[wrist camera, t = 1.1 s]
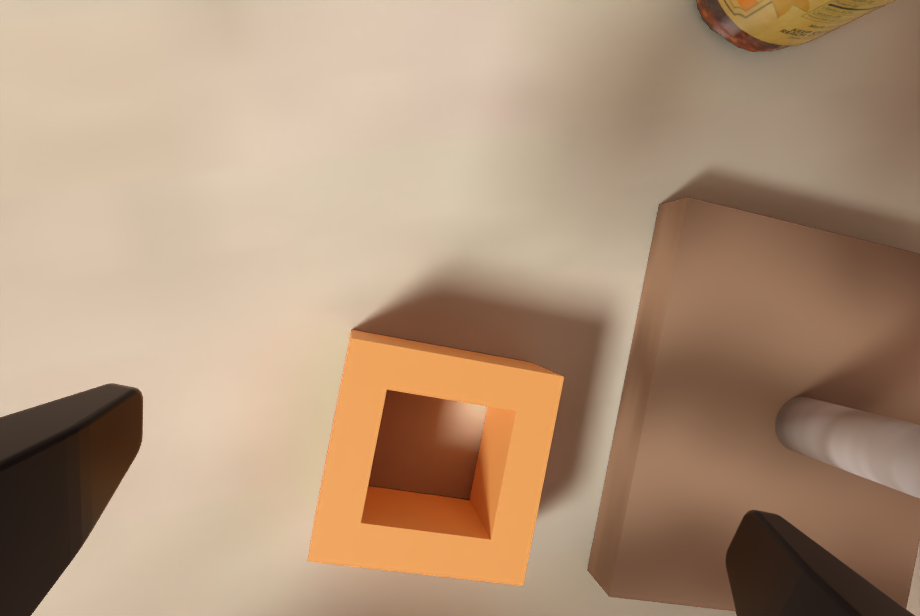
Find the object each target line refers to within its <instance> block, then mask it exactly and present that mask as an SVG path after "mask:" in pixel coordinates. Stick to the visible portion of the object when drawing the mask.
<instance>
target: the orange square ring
mask: <svg viewBox="0 0 920 616" xmlns="http://www.w3.org/2000/svg"><path fill="white" fill-rule="evenodd" d="M563 381H564V376H562V375H559V374H557V373H555V372H552V371H550V370H548V369H545V368H543V367H541V366H539V365H536V364H534V363H531V362H526V361H520V360H515V359H510V358H504V357H499V356H493V355H488V354H482V353H477V352H471V351H466V350H460V349H455V348H449V347H444V346H439V345H433V344H428V343H422V342H417V341H411V340H406V339H400V338H395V337H389V336H384V335H378V334H373V333H368V332H362V331H357V330H351V334H350V339H349V345H348V350H347V355H346V360H345V365H344V370H343V375H342V380H341V386H340V391H339V396H338V401H337V406H336V411H335V416H334V421H333V426H332V432H331V437H330V442H329V447H328V452H327V457H326V462H325V467H324V472H323V478H322V483H321V488H320V493H319V498H318V503H317V508H316V513H315V519H314V525H313V531H312V537H311V543H310V549H309V556H308V561H309V562H318V563H326V564H335V565H344V566H352V567H361V568H370V569H379V570H387V571H396V572H405V573H414V574H422V575H431V576H440V577H449V578H457V579H466V580H475V581H483V582H492V583H501V584H510V585H518V586H523V584H524V579H525V574H526V569H527V564H528V559H529V554H530V549H531V544H532V539H533V533H534V528H535V523H536V518H537V513H538V508H539V503H540V498H541V493H542V488H543V483H544V477H545V472H546V467H547V462H548V457H549V452H550V447H551V442H552V437H553V432H554V427H555V421H556V416H557V411H558V406H559V401H560V396H561V391H562V386H563ZM387 390H393V391H399V392H405V393H411V394H417V395H422V396H428V397H434V398H440V399H446V400H452V401H458V402H464V403H470V404H476V405H482V406H488V408H487V413H486V418H485V423H484V429H483V434H482V439H481V444H480V449H479V454H478V459H477V464H476V469H475V474H474V480H473V485H472V490H471V495H470V500H465V499H458V498H451V497H444V496H436V495H429V494H422V493H415V492H407V491H400V490H393V489H386V488H379V487H371V486H368V483H369V478H370V473H371V468H372V463H373V458H374V453H375V448H376V442H377V437H378V432H379V427H380V422H381V417H382V412H383V407H384V402H385V396H386V391H387Z"/></svg>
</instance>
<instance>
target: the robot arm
mask: <svg viewBox="0 0 920 616" xmlns="http://www.w3.org/2000/svg"><path fill="white" fill-rule="evenodd" d="M142 433H143V396H142V393H141V391H140V390H139V389H137V388H134V387H129V386H124V385H119V384H106V385H103V386H100V387H97V388H93V389H90V390H87V391H84V392H80V393H77V394H74V395H71V396H68V397H64V398H61V399H58V400H55V401H52V402H48V403H45V404H42V405H39V406H36V407H32V408H29V409H26V410H23V411H20V412H16V413H13V414H10V415H7V416H4V417H0V616H31V615H32V613H33V612H34V611H35V609H36V608H37V607H38V605H39V604H40V603H41V601H42V600H43V599H44V597H45V596H46V595H47V593H48V592H49V591H50V589H51V588H52V587H53V585H54V584H55V583H56V581H57V580H58V578H59V577H60V576H61V574H62V573H63V572H64V570H65V569H66V568H67V566H68V565H69V564H70V562H71V561H72V560H73V558H74V557H75V555H76V554H77V553H78V551H79V550H80V548H81V547H82V546H83V544H84V542H85V541H86V539H87V538H88V536H89V534H90V533H91V531H92V530H93V528H94V526H95V525H96V523H97V521H98V520H99V518H100V516H101V514H102V513H103V511H104V509H105V508H106V506H107V504H108V503H109V501H110V499H111V498H112V496H113V494H114V492H115V491H116V489H117V487H118V486H119V484H120V482H121V481H122V479H123V477H124V476H125V474H126V472H127V471H128V469H129V467H130V465H131V464H132V462H133V460H134V459H135V457H136V455H137V453H138V451H139V449H140V446H141V442H142ZM725 564H726V571H727V575H728V580H729V584H730V589H731V593H732V597H733V602H734V606H735V611H736V615H737V616H915V615H913V614H912V613H910V612H909V611H908V610H906V609H905V608H904V607H902V606H901V605H900V604H898V603H897V602H896V601H894V600H893V599H892V598H890V597H889V596H888V595H886V594H885V593H884V592H882V591H881V590H880V589H878V588H877V587H875V586H874V585H873V584H871V583H870V582H869V581H867V580H866V579H865V578H863V577H862V576H861V575H859V574H858V573H857V572H855V571H854V570H853V569H851V568H850V567H849V566H847V565H846V564H845V563H843V562H842V561H840V560H839V559H838V558H836V557H835V556H834V555H832V554H831V553H830V552H828V551H827V550H826V549H824V548H823V547H822V546H820V545H819V544H818V543H816V542H815V541H814V540H812V539H811V538H809V537H808V536H807V535H805V534H804V533H803V532H801V531H800V530H799V529H797V528H796V527H795V526H793V525H792V524H791V523H789V522H788V521H787V520H785V519H784V518H783V517H781V516H780V515H777V514H774V513H769V512H764V511H759V510H750V511H748V512H747V513H746V514H745V515H744V516H743V518H742V520H741V522H740V524H739V526H738V528H737V531H736V533H735V535H734V537H733V539H732V541H731V543H730V545H729V547H728V549H727V553H726V558H725Z"/></svg>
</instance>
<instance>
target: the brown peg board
mask: <svg viewBox="0 0 920 616" xmlns="http://www.w3.org/2000/svg"><path fill="white" fill-rule="evenodd" d="M750 510H759V511H764V512H769V513H774V514H777V515H780V516H781V517H783V518H784V519H785V520H787V521H788V522H789V523H791V524H792V525H793V526H795V527H796V528H797V529H799V530H800V531H801V532H803V533H804V534H805V535H807V536H808V537H809V538H811V539H812V540H814V541H815V542H816V543H818V544H819V545H820V546H822V547H823V548H824V549H826V550H827V551H828V552H830V553H831V554H832V555H834V556H835V557H836V558H838V559H839V560H840V561H842V562H843V563H845V564H846V565H847V566H849V567H850V568H851V569H853V570H854V571H855V572H857V573H858V574H859V575H861V576H862V577H863V578H865V579H866V580H867V581H869V582H870V583H871V584H873V585H874V586H875V587H877V588H878V589H880V590H881V591H882V592H884V593H885V594H886V595H888V596H889V597H890V598H892V599H893V600H894V601H896V602H897V603H898V604H900V605H901V606H902V607H904V608H905V609H906V607H907V602H908V597H909V591H910V586H911V581H912V576H913V571H914V566H915V561H916V556H917V551H918V546H919V541H920V254H918V253H914V252H910V251H906V250H902V249H898V248H894V247H890V246H886V245H881V244H877V243H873V242H869V241H865V240H861V239H857V238H853V237H849V236H845V235H841V234H837V233H833V232H828V231H824V230H820V229H816V228H812V227H808V226H804V225H800V224H796V223H792V222H788V221H784V220H780V219H776V218H771V217H767V216H763V215H759V214H755V213H751V212H747V211H743V210H739V209H735V208H731V207H727V206H723V205H718V204H714V203H710V202H706V201H702V200H698V199H694V198H690V197H686V198H682V199H678V200H675V201H671V202H667V203H663V204H660V205H659V208H658V213H657V218H656V223H655V228H654V233H653V239H652V244H651V249H650V254H649V259H648V264H647V269H646V274H645V279H644V284H643V289H642V295H641V300H640V305H639V310H638V315H637V320H636V325H635V330H634V335H633V340H632V345H631V350H630V356H629V361H628V366H627V371H626V376H625V381H624V386H623V391H622V396H621V401H620V406H619V412H618V417H617V422H616V427H615V432H614V437H613V442H612V447H611V452H610V457H609V462H608V467H607V473H606V478H605V483H604V488H603V493H602V498H601V503H600V508H599V513H598V518H597V523H596V529H595V534H594V539H593V544H592V549H591V554H590V559H589V564H588V569H587V570H588V571H589V573H590V574H591V575H592V576H593V577H594V579H595V580H596V581H597V582H598V584H599V585H600V586H601V587H602V588H603V590H604V591H605V592H606V593H607V594H608V596H609V597H617V598H625V599H634V600H643V601H652V602H660V603H669V604H678V605H687V606H695V607H704V608H713V609H722V610H730V611H735V606H734V602H733V597H732V593H731V589H730V584H729V580H728V575H727V571H726V564H725V558H726V553H727V549H728V547H729V545H730V543H731V541H732V539H733V537H734V535H735V533H736V531H737V528H738V526H739V524H740V522H741V520H742V518H743V516H744V515H745V514H746V513H747V512H748V511H750Z"/></svg>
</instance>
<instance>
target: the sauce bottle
mask: <svg viewBox="0 0 920 616" xmlns="http://www.w3.org/2000/svg"><path fill="white" fill-rule="evenodd" d="M696 1H697V7H698V10H699V12H700V14H701V17H702V19H703V20H704V21H705V22H706V23H707V24H708V26H709V27H710V29H712V30H714V31H715V32H716V33H719V34H721V35H722V36H723V37H724V38H725V39H726V40H728V41H729V42H731V43H733V44H735V45H736V46H737V47H739V48H743V49H746V50H748V51H753V52H756V51H773V50H778V49H781V48H784V47H788V46H791V45H801V44H803V43H806V42H808V41H811V40H813V39H815V38H818V37H820V36H822V35H824V34H826V33H828V32H830V31H832V30H835V29H837V28H839V27H841V26H843V25H845V24H847V23H849V22H851V21H853V20H855V19H857V18H859V17H861V16H864V15H866V14H868V13H870V12H872V11H874V10H876V9H878V8H880V7H882V6H884V5H886V4H888V3H891V2H893V1H895V0H696Z"/></svg>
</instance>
